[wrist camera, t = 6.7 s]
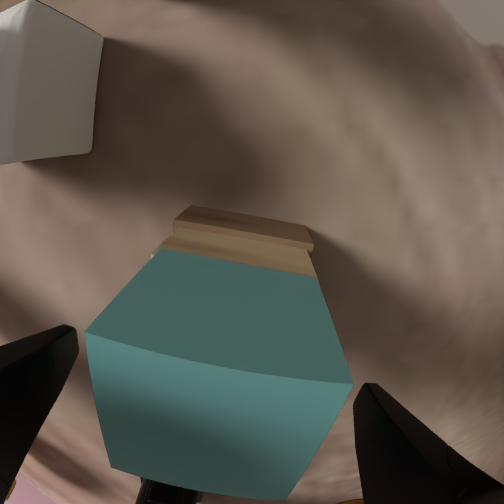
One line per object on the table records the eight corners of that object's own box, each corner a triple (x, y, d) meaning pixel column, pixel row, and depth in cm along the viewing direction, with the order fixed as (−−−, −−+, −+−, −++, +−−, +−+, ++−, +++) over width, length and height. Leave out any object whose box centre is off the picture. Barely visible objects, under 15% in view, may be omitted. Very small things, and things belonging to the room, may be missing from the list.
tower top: (280, 354, 15) (282, 403, 12) (170, 334, 15) (149, 379, 12) (306, 249, 13) (319, 283, 10) (178, 227, 13) (150, 254, 10)
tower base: (281, 322, 18) (283, 358, 15) (181, 304, 18) (165, 336, 15) (304, 224, 16) (314, 244, 13) (192, 204, 16) (173, 219, 13)
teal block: (280, 391, 12) (284, 501, 7) (155, 367, 11) (111, 467, 7) (316, 277, 10) (353, 384, 5) (161, 247, 10) (84, 331, 5)
